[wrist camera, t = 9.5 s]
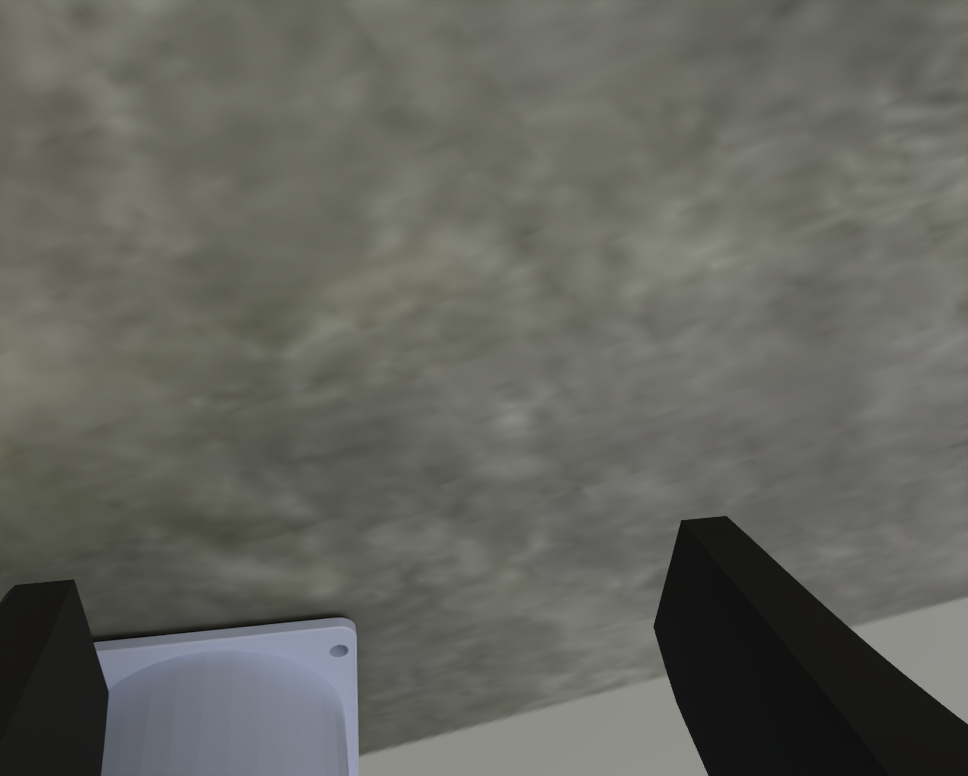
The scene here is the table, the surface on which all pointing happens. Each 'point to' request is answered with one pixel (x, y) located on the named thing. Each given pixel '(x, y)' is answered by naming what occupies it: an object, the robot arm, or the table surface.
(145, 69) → the table surface
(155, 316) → the table surface
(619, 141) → the table surface
